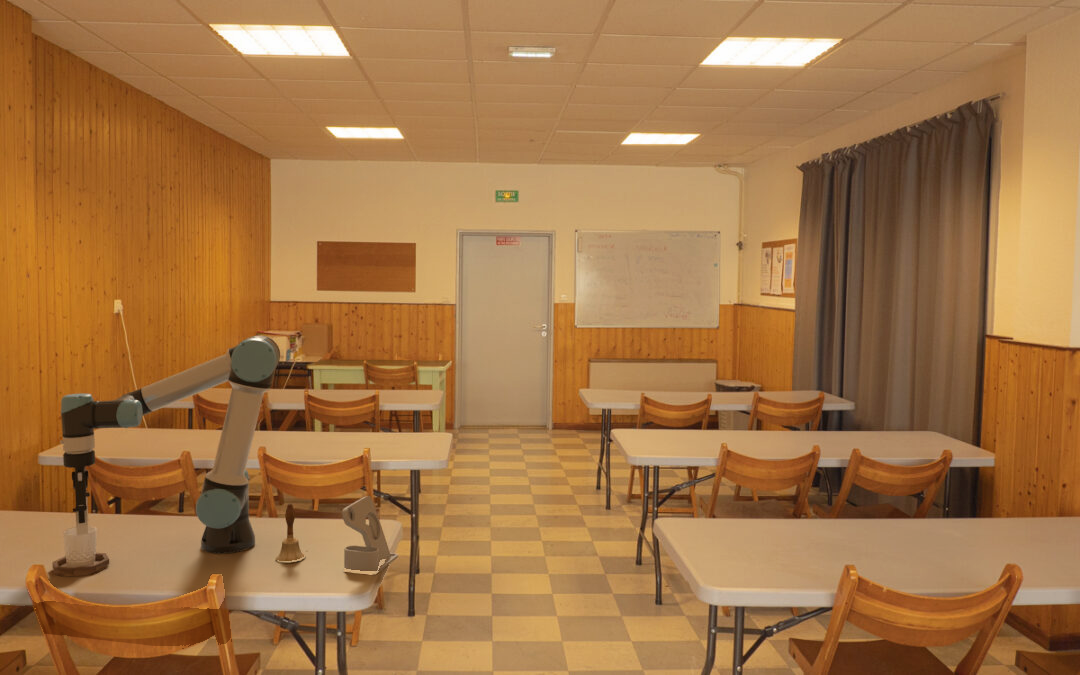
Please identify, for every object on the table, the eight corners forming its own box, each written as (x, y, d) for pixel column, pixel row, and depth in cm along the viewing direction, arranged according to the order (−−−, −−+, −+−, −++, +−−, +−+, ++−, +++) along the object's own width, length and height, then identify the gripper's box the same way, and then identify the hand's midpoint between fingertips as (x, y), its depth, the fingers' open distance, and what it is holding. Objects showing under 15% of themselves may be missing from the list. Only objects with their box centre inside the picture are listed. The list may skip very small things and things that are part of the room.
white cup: (74, 573, 218) (73, 536, 218) (58, 567, 222) (57, 531, 222) (103, 565, 225) (102, 529, 224) (87, 559, 229) (86, 524, 228)
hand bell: (269, 561, 233) (269, 506, 231) (287, 552, 240) (287, 499, 239) (293, 565, 230) (293, 509, 229) (311, 556, 238) (311, 502, 236)
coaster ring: (118, 561, 230) (118, 554, 229) (86, 578, 217) (86, 570, 217) (76, 558, 231) (76, 551, 231) (42, 574, 219) (42, 566, 218)
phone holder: (374, 576, 223) (374, 511, 221) (340, 572, 225) (340, 508, 224) (399, 556, 239) (400, 495, 238) (367, 552, 242) (367, 492, 241)
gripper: (64, 444, 231) (67, 517, 233) (61, 461, 209) (65, 542, 211) (94, 441, 235) (97, 514, 236) (95, 458, 213) (98, 537, 214)
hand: (82, 527), depth 223 cm, fingers open, 13 cm apart
